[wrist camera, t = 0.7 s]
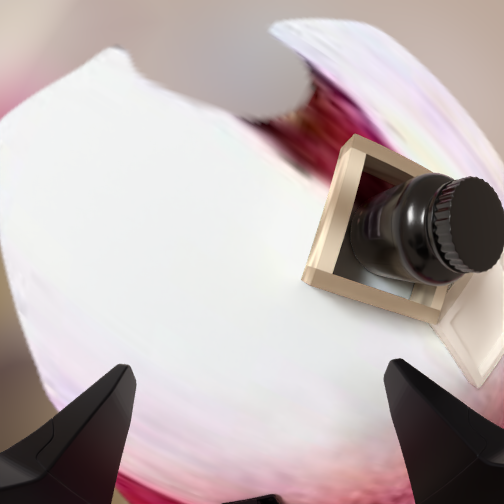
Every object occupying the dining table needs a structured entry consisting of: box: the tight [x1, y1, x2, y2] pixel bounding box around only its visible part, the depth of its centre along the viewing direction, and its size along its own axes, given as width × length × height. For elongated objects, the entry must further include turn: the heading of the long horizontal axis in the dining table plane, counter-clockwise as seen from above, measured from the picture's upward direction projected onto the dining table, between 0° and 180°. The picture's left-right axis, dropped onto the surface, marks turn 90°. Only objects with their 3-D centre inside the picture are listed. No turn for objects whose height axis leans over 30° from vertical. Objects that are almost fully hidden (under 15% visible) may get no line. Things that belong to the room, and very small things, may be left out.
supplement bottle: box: [350, 173, 504, 286], centre depth 16 cm, size 7×7×12 cm
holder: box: [301, 134, 448, 325], centre depth 21 cm, size 11×11×4 cm
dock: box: [429, 249, 504, 389], centre depth 22 cm, size 12×12×2 cm
